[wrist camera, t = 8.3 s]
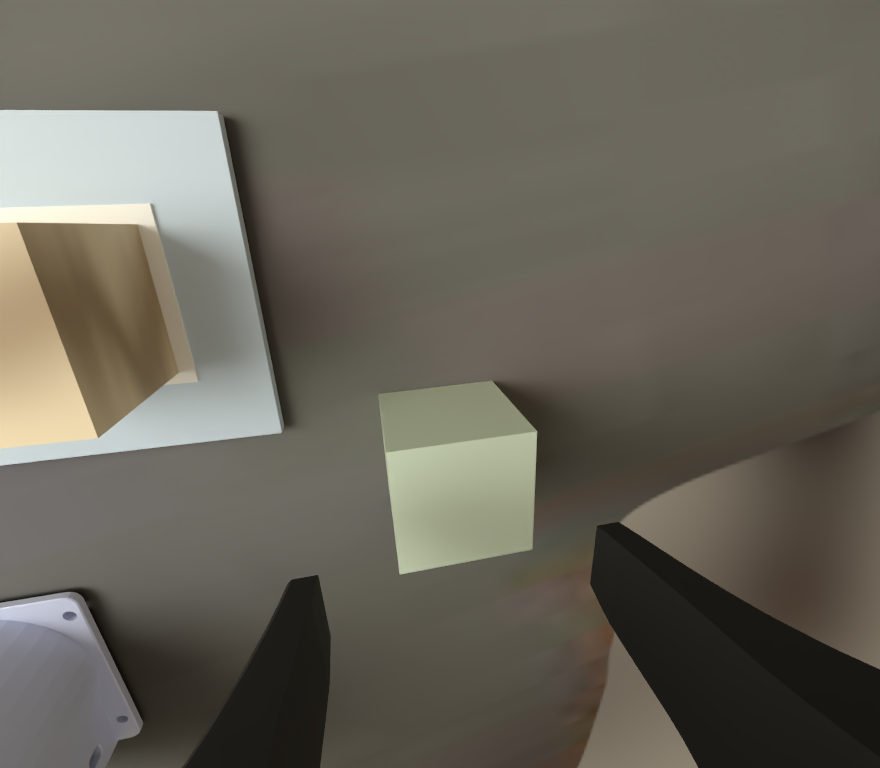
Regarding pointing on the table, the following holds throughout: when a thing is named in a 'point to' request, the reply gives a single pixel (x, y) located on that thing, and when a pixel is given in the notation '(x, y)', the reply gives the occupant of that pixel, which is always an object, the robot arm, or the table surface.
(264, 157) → the table surface
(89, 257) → the maple block
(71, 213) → the board
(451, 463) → the sage block
